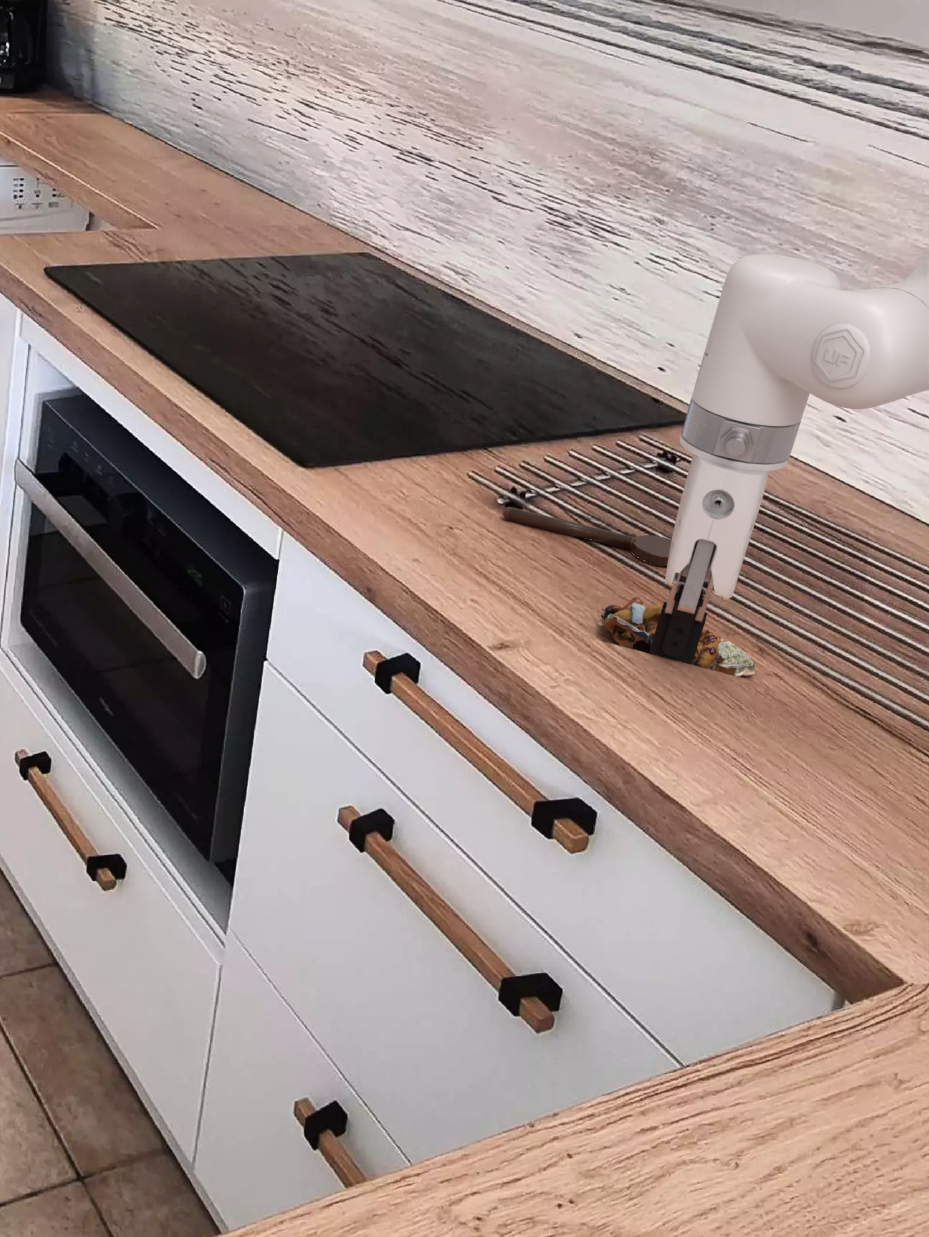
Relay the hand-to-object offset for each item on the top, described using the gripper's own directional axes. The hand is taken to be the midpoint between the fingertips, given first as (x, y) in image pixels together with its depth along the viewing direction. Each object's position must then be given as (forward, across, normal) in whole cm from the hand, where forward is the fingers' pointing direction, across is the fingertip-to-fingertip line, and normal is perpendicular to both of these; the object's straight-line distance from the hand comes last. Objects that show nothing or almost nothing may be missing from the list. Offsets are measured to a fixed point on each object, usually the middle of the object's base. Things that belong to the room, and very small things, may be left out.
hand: (670, 657), depth 129 cm
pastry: (+2, +4, 0) cm, 5 cm away
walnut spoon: (+2, +24, +8) cm, 25 cm away
